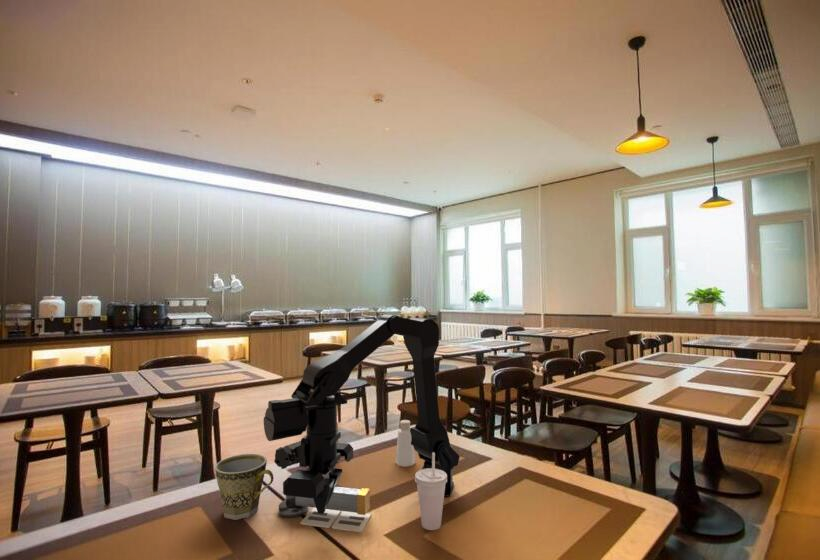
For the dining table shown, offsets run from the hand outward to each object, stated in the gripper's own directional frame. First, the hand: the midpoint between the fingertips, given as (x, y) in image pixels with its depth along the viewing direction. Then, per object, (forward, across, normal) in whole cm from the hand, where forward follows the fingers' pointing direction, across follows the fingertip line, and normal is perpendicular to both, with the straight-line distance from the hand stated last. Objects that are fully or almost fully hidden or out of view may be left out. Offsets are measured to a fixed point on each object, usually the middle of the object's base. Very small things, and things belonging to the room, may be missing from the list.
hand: (321, 512), depth 79 cm
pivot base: (+4, -6, -9) cm, 11 cm away
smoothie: (+4, -7, +20) cm, 21 cm away
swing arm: (+2, -6, -2) cm, 6 cm away
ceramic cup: (+4, -3, -18) cm, 19 cm away
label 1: (+4, -4, -2) cm, 6 cm away
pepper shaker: (+4, -35, +8) cm, 36 cm away
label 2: (+4, -4, +4) cm, 7 cm away
